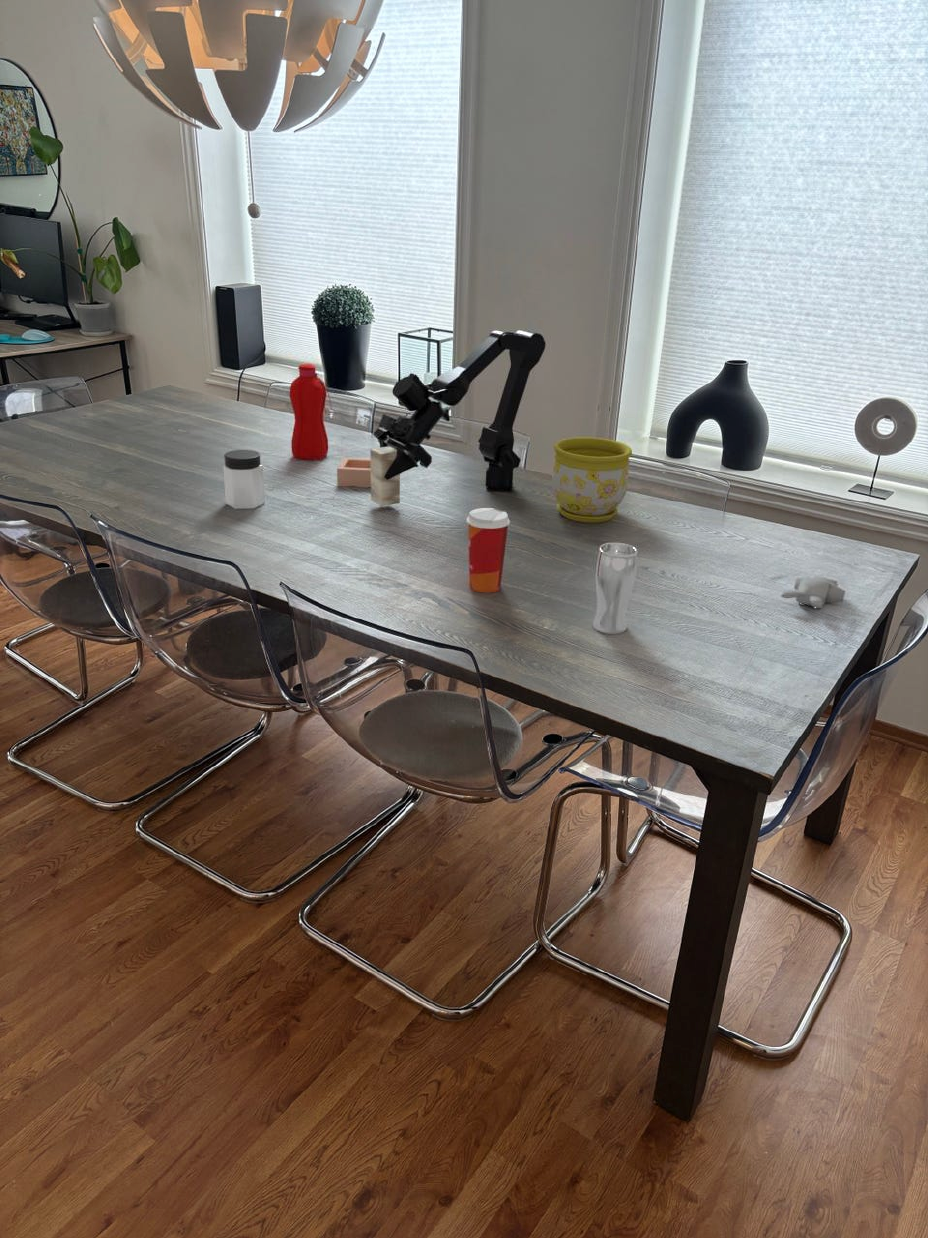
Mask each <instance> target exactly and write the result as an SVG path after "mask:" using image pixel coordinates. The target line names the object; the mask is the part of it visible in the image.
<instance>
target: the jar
mask: <svg viewBox="0 0 928 1238" xmlns="http://www.w3.org/2000/svg"><path fill="white" fill-rule="evenodd" d="M223 458H224V465H223V464H222V465H223V466H222V467H223V468H222V469H223V481H224V491H225V492H224V495H225V504H226V505H228V506H230V507H231V508H233V509H234V510H239V509H240V510H243V509H245V510H246V509H247V510H249V509H250V510H251V509H252V510H254V509H256V508H258V507H259V506H262V505H264V504H265V502H266V501H265V486H264V485H265V484H264V467H263V464H261V453H259V452H258V451H257V450H253V449H235V450H230V451H229V450H228V451H227V452H225V453H224V456H223Z"/></svg>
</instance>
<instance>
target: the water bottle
mask: <svg viewBox="0 0 928 1238" xmlns="http://www.w3.org/2000/svg"><path fill="white" fill-rule="evenodd" d="M297 370H298V373H299V375H298V376H297V377H296V378H295V379H293V380H292V381H291V384H290V385H289V386H290V387H289V392H288V393H289V400H290V403H291V408H292V410H293V411H292V412H293V415H294V425H293V429H292V436H291V442H290V443H291V444H290V445H291V447H290V448H291V454H292V457H294V458H295V459H298V460H309V461H320V460H322V459H324V458H325V456H327V455H328V452H329V439H328V438H329V437H328V434H327V431H326V426H325V422H324V413H325V414H326V415H327V416H330V415H331V414H332V412H330V414H328V413H327V412H326V410H325V407H326V399H327V396H328V399H329V404H330V406H332V403H331V398H330V394H329V391H328V389H327V387H326V383H325V382H324V381H323V380H322V379H321V377H319V376H318V373H317V372H316V366H315V365H314V364H312V363H303V364H299V365H298V367H297ZM330 411H332V407H330Z"/></svg>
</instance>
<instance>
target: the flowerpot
mask: <svg viewBox="0 0 928 1238" xmlns="http://www.w3.org/2000/svg"><path fill="white" fill-rule="evenodd" d="M553 449H554V452H555V455H554V464H553V467H552V475H551V476H552V477H551V486H552V491H553V492H552V493H553V494H554V497H555V499H556V501H557V502H558V504H557V505H556V507H557V508H556V509H557V510H558V511H559V512H560V514H561V515H562V517H564V518H565V519H566V518H567V519H569V520H571V521H574V522H581V523H603V522H608V521H609V520H611V519H612V518H613V517H614V516H615V515H616V514H618V506H620V504H621V502H622V501H623V499H624V498H625V496H626V493H627V491H628V485H629V465H630V459H629V458H631V456H632V454H633V450H632V448H631V447H630V446H629V445H628V444H625V443H623V442H620V441H617V440H613V439H607V438H601V437H584V436H581V437H580V436H579V437H569V438H564V439H561V440H557V441H556V442H555V443H554V445H553Z"/></svg>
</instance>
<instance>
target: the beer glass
mask: <svg viewBox="0 0 928 1238" xmlns="http://www.w3.org/2000/svg"><path fill="white" fill-rule="evenodd" d="M637 562H638V549H637V548H636V547H634V546H633V545H630V544H627V543H624V542H623V543H622V542H606V543H603V544H601V545H600V546H599V550H598V556H597V560H596V566H595V567H596V568H595V592H596V613H595V615H594V619H593V621H592V622H593V623H592V626H593V628H594V629H595V630H596V631H598V632H600V633H603V634H607V635H618V634H622V633H624V632H625V631H627V629H628V626H627V625H628V622H627V609H628V605H629V602H630V600H631V595H632V594H633V593H632V592H633V589H634V587H635V586H634V585H635V582H636V576H637V567H638V566H637V565H638V563H637Z"/></svg>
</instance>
